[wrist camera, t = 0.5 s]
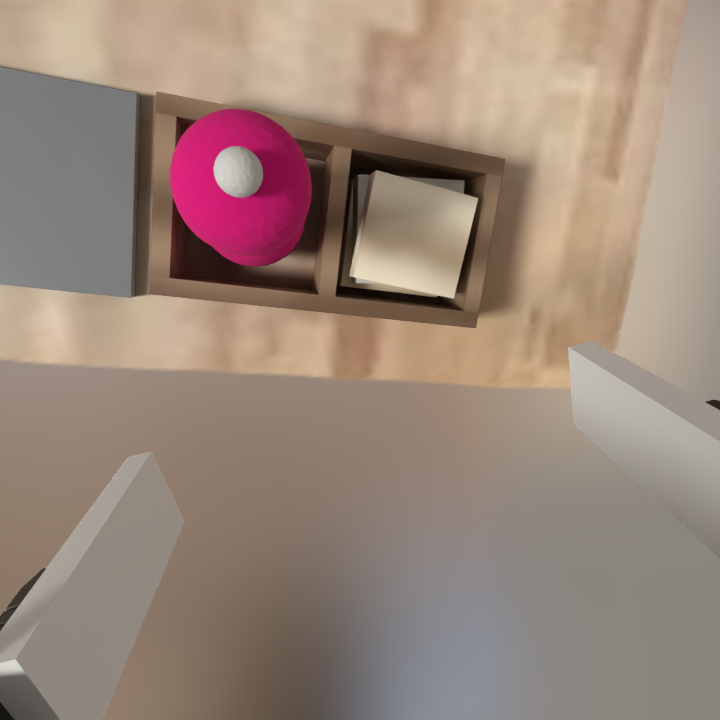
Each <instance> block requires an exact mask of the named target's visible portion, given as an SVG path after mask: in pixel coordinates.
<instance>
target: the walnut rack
mask: <svg viewBox="0 0 720 720" xmlns="http://www.w3.org/2000/svg"><path fill="white" fill-rule="evenodd" d="M236 108H237V109H244V108H239V107H234V106H228V105H223V104H218V103H213V102H208V101H203V100H197V99H192V98H187V97H182V96H177V95H172V94H166V93H161V92H156V121H155V150H154V178H153V207H152V235H151V264H150V293H149V294H153V295H163V296H172V297H182V298H191V299H201V300H211V301H220V302H230V303H239V304H249V305H258V306H268V307H278V308H287V309H297V310H306V311H316V312H325V313H335V314H345V315H354V316H364V317H373V318H383V319H392V320H402V321H412V322H421V323H431V324H440V325H450V326H459V327H469V328H476V325H477V319H478V313H479V307H480V301H481V296H482V290H483V284H484V278H485V272H486V267H487V261H488V255H489V249H490V244H491V238H492V232H493V226H494V220H495V215H496V209H497V203H498V197H499V191H500V186H501V180H502V174H503V168H504V163H505V159H502V158H497V157H492V156H487V155H482V154H477V153H471V152H466V151H461V150H456V149H451V148H446V147H440V146H435V145H430V144H425V143H420V142H415V141H409V140H404V139H399V138H394V137H389V136H384V135H378V134H373V133H368V132H363V131H358V130H353V129H347V128H342V127H337V126H332V125H327V124H322V123H316V122H311V121H306V120H301V119H296V118H291V117H285V116H280V115H275V114H270V113H265V112H259V111H254V110H251V111H254V112H257V113H259V114H262V115H265V116H267V117H268V118H270V119H272V120H273V121H275V122H276V123H278V124H279V125H280V126H282V127H283V128H284V129H285V130H286V131H287V132H288V133H289V134H290V135H291V136H292V137H293V138H294V140H295V141H296V142H297V144H298V145H299V147H300V148H301V150H302V152H303V154H304V156H305V158H310V159H316V160H322V161H325V171H324V180H323V190H322V200H321V210H320V220H319V229H318V239H317V249H316V259H315V268H314V278H313V288H312V290H304V289H296V288H287V287H278V286H269V285H261V284H252V283H243V282H234V281H225V280H217V279H208V278H199V277H190V276H183V266H184V245H185V225H186V223H185V222H184V220H183V218H182V217H181V215H180V213H179V212H178V209H177V206H176V204H175V201H174V199H173V195H172V191H171V186H170V166H171V161H172V156H173V153H174V150H175V148H176V146H177V144H178V142H179V140H180V138H181V136H182V135H183V134H184V133H185V132H186V130H187V129H188V128H189V127H190V126H191V125H193V124H194V123H195V122H196V121H198V120H199V119H200V118H202V117H204V116H206V115H208V114H210V113H212V112H216V111H219V110H223V109H236ZM244 110H249V109H244ZM350 166H356V167H362V168H367V169H373V170H379V171H384V172H390V173H396V174H401V175H407V176H413V177H418V178H430V179H448V180H465V182H464V194H465V195H469V196H472V197H476V198H478V202H477V206H476V210H475V214H474V218H473V222H472V226H471V230H470V234H469V238H468V242H467V246H466V251H465V255H464V259H463V263H462V267H461V271H460V275H459V279H458V284H457V287H456V291H455V295H454V299H453V298H448V297H443V296H442V298H441V305H436V304H427V303H418V302H409V301H401V300H392V299H383V298H374V297H366V296H357V295H348V294H339V293H336V286H337V277H338V268H339V259H340V250H341V241H342V232H343V223H344V214H345V205H346V196H347V188H348V179H349V170H350Z"/></svg>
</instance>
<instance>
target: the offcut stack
mask: <svg viewBox="0 0 720 720" xmlns="http://www.w3.org/2000/svg"><path fill="white" fill-rule="evenodd" d="M464 182H465V180H448V179H430V178H413V177H400V176H396V175H392V174H389V173H385V172H381V171H378V170H375V171H374V172H373V173H372V174H371V175H362V174H358V175H357V176H356V177H355V178H354V179H352V180H351V181H350V182H349V185H348V194H347V203H346V212H345V221H344V229H343V238H342V247H341V256H340V265H339V274H338V283H337V285H340V286H346V287H354V288H363V289H371V290H380V291H388V292H396V293H405V294H413V295H422V296H430V297H437V295H439V296H443V297H448V298H453V299H454V295H455V291H456V287H457V284H458V279H459V275H460V271H461V267H462V263H463V259H464V255H465V251H466V246H467V242H468V238H469V234H470V230H471V226H472V222H473V218H474V214H475V210H476V206H477V202H478V198H476V197H472V196H469V195H465V194H464Z"/></svg>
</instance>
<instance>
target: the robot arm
mask: <svg viewBox="0 0 720 720" xmlns="http://www.w3.org/2000/svg"><path fill="white" fill-rule="evenodd" d="M568 353H569V367H570V380H571V394H572V407H573V420H574V425H575V426H576V427H577V428H579V430H580V431H582V432H583V433H584V434H585V435H586V436H587V437H588V438H589V439H590V440H591V441H592V442H594V443H595V444H596V445H597V446H598V447H599V448H600V449H601V450H602V451H603V452H604V453H606V454H607V455H608V456H609V457H610V458H611V459H612V460H613V461H614V462H615V463H617V464H618V465H619V466H620V467H621V468H622V469H623V470H624V471H625V472H626V473H627V474H629V475H630V476H631V477H632V478H633V479H634V480H635V481H636V482H637V483H638V484H639V485H641V486H642V487H643V488H644V489H645V490H646V491H647V492H648V493H649V494H650V495H651V496H653V497H654V498H655V499H656V500H657V501H658V502H659V503H660V504H661V505H662V506H663V507H665V508H666V509H667V510H668V511H669V512H670V513H671V514H672V515H673V516H674V517H675V518H677V519H678V520H679V521H680V522H681V523H682V524H683V525H684V526H685V527H686V528H687V529H689V530H690V531H691V532H692V533H693V534H694V535H695V536H696V537H697V538H698V539H699V540H701V541H702V542H703V543H704V544H705V545H706V546H707V547H708V548H709V549H710V550H711V551H713V552H714V553H715V554H716V555H717V556H718V557H719V558H720V401H717V400H711V401H707V402H704V401H702V400H700V399H698V398H696V397H695V396H693V395H691V394H689V393H687V392H686V391H684V390H682V389H680V388H678V387H676V386H674V385H673V384H671V383H669V382H667V381H665V380H663V379H662V378H660V377H658V376H656V375H654V374H652V373H651V372H649V371H647V370H645V369H643V368H641V367H640V366H638V365H636V364H634V363H632V362H630V361H629V360H627V359H625V358H623V357H621V356H619V355H618V354H616V353H614V352H612V351H610V350H608V349H607V348H605V347H603V346H601V345H599V344H597V343H596V342H594V341H590V342H586V343H582V344H578V345H574V346H570V347H568ZM183 524H184V520H183V518H182V515H181V514H180V511H179V509H178V507H177V505H176V503H175V501H174V498H173V496H172V494H171V492H170V490H169V488H168V486H167V483H166V481H165V479H164V477H163V475H162V473H161V471H160V468H159V466H158V464H157V462H156V460H155V458H154V456H153V454H152V452H147V453H143V454H139V455H135V456H131V457H127V459H126V460H125V461H124V463H123V464H122V465H121V467H120V468H119V470H118V471H117V472H116V474H115V475H114V476H113V478H112V479H111V480H110V482H109V483H108V485H107V486H106V487H105V489H104V490H103V491H102V493H101V494H100V496H99V497H98V498H97V500H96V501H95V502H94V504H93V505H92V506H91V508H90V509H89V511H88V512H87V513H86V515H85V516H84V518H83V519H82V520H81V522H80V523H79V524H78V526H77V527H76V528H75V530H74V531H73V533H72V534H71V535H70V537H69V538H68V539H67V541H66V542H65V543H64V545H63V546H62V548H61V549H60V550H59V552H58V553H57V554H56V556H55V557H54V558H53V560H52V561H51V563H50V564H49V565H48V567H47V568H44V569H42V570H41V571H40V572H39V573H38V574H37V575H35V576H34V577H33V578H32V579H31V580H30V581H29V582H28V583H27V584H26V585H24V586H23V587H22V588H21V590H20V591H19V592H18V594H17V595H16V596H15V597H14V599H13V600H12V602H11V603H10V604H9V605H8V607H7V611H6V612H3V614H2V615H1V616H0V720H102V719H103V717H104V714H105V712H106V710H107V707H108V705H109V702H110V700H111V698H112V695H113V693H114V690H115V688H116V686H117V683H118V680H119V678H120V676H121V674H122V671H123V669H124V666H125V664H126V661H127V659H128V657H129V654H130V652H131V650H132V647H133V645H134V642H135V640H136V637H137V635H138V633H139V630H140V628H141V625H142V623H143V620H144V618H145V616H146V613H147V611H148V608H149V606H150V604H151V601H152V599H153V596H154V594H155V592H156V589H157V587H158V584H159V582H160V579H161V577H162V575H163V572H164V570H165V567H166V565H167V562H168V560H169V558H170V555H171V553H172V550H173V548H174V546H175V543H176V541H177V538H178V536H179V533H180V531H181V529H182V526H183Z"/></svg>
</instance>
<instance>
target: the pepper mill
mask: <svg viewBox="0 0 720 720" xmlns="http://www.w3.org/2000/svg"><path fill="white" fill-rule="evenodd" d="M170 186H171V191H172V195H173V199H174V201H175V204H176V206H177V209H178V212H179V213H180V215H181V217H182V218H183V220H184V222H185V223H186V224H187V226H188V227H189V228H190V229H191V230H192V231H193V232H194V234H195V235H196V236H197V237H199V238H200V239H201V240H203V241H204V242H205V243H207V244H209V245H210V246H212V247H213V248H214V249H215V250H216V251H217V252H218V253H220V254H221V255H222V256H223V257H225V258H227V259H229V260H230V261H232V262H235V263H237V264H240V265H245V266H256V267H258V266H266V265H269V264H273V263H275V262H277V261H279V260H281V259H283V258H284V257H285V256H287V255H288V254H289V253H290V252H291V251H292V250H293V249H294V248H295V246H296V245H297V243H298V242H299V240H300V238H301V236H302V233H303V229H304V226H305V219H306V216H307V213H308V210H309V207H310V203H311V195H312V185H311V176H310V171H309V168H308V165H307V161H306V158H305V156H304V154H303V152H302V150H301V148H300V147H299V145H298V144H297V142H296V141H295V140H294V138H293V137H292V136H291V135H290V134H289V133H288V132H287V131H286V130H285V129H284V128H283V127H282V126H280V125H279V124H278V123H276V122H275V121H273V120H272V119H270V118H268V117H267V116H265V115H262V114H259V113H257V112H254V111H251V110H244V109H237V108H236V109H223V110H219V111H216V112H212V113H210V114H208V115H206V116H204V117H202V118H200V119H199V120H198V121H196V122H195V123H194V124H193V125H191V126H190V127H189V128H188V129H187V130H186V132H185V133H184V134H183V135H182V136H181V138H180V140H179V142H178V144H177V146H176V148H175V150H174V153H173V156H172V161H171V166H170Z"/></svg>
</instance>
